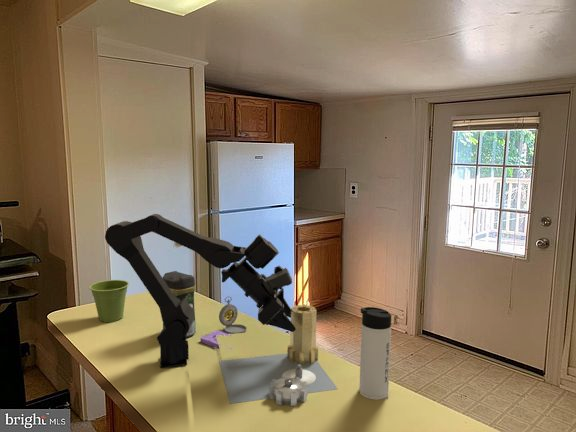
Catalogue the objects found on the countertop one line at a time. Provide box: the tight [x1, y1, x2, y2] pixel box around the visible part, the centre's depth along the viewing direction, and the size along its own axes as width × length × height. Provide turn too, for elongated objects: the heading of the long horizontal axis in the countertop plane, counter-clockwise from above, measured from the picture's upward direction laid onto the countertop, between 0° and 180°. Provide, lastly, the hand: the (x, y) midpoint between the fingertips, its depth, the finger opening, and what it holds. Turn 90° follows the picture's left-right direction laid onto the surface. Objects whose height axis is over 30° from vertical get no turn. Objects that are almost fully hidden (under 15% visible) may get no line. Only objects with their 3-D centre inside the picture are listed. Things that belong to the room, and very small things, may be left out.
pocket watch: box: [218, 296, 248, 335], centre depth 131 cm, size 8×8×10 cm
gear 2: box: [269, 376, 308, 407], centre depth 93 cm, size 8×8×3 cm
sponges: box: [199, 330, 234, 350], centre depth 122 cm, size 7×13×2 cm, turn 54°
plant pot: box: [88, 279, 130, 323], centre depth 139 cm, size 12×12×11 cm
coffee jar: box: [162, 270, 197, 339], centre depth 127 cm, size 10×8×19 cm
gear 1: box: [287, 304, 319, 365], centre depth 110 cm, size 8×8×13 cm
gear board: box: [218, 352, 339, 405], centre depth 102 cm, size 24×20×4 cm
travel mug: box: [358, 306, 392, 401], centre depth 94 cm, size 6×7×20 cm
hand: (294, 323), depth 110 cm, fingers open, 9 cm apart
